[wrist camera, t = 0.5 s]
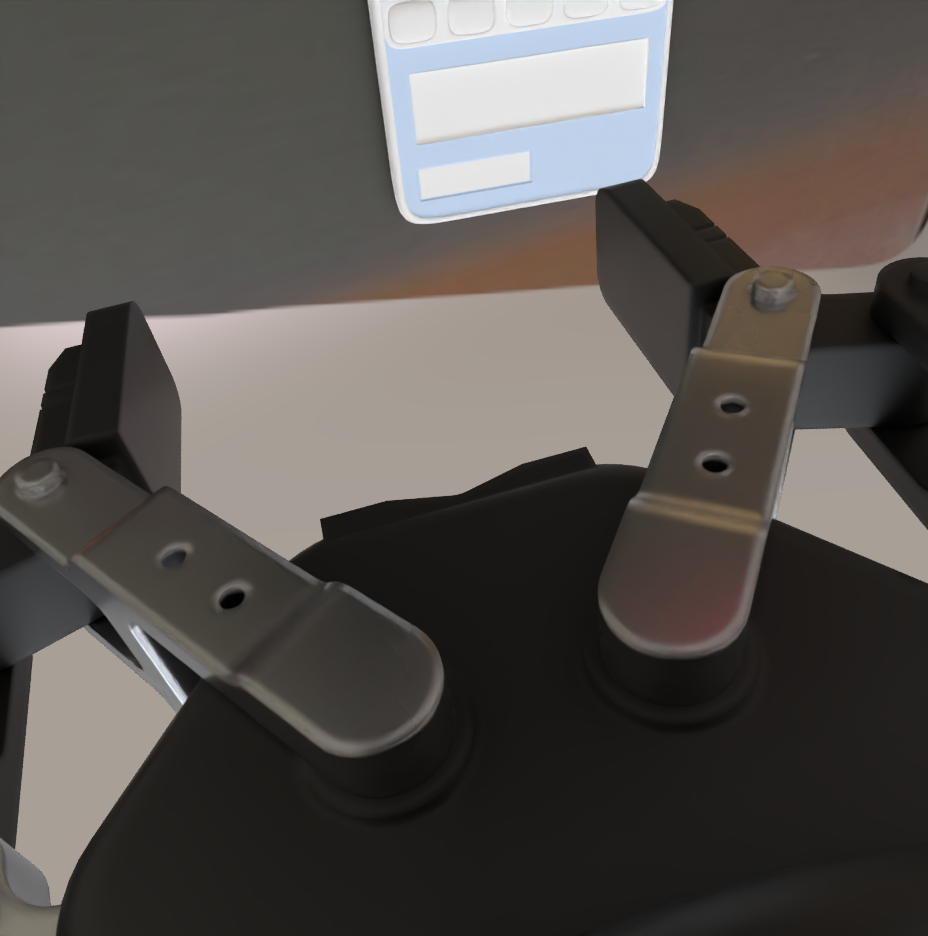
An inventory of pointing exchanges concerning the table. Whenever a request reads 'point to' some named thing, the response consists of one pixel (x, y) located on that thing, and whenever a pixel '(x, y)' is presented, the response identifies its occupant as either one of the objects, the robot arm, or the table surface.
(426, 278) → the table surface
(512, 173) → the calculator
